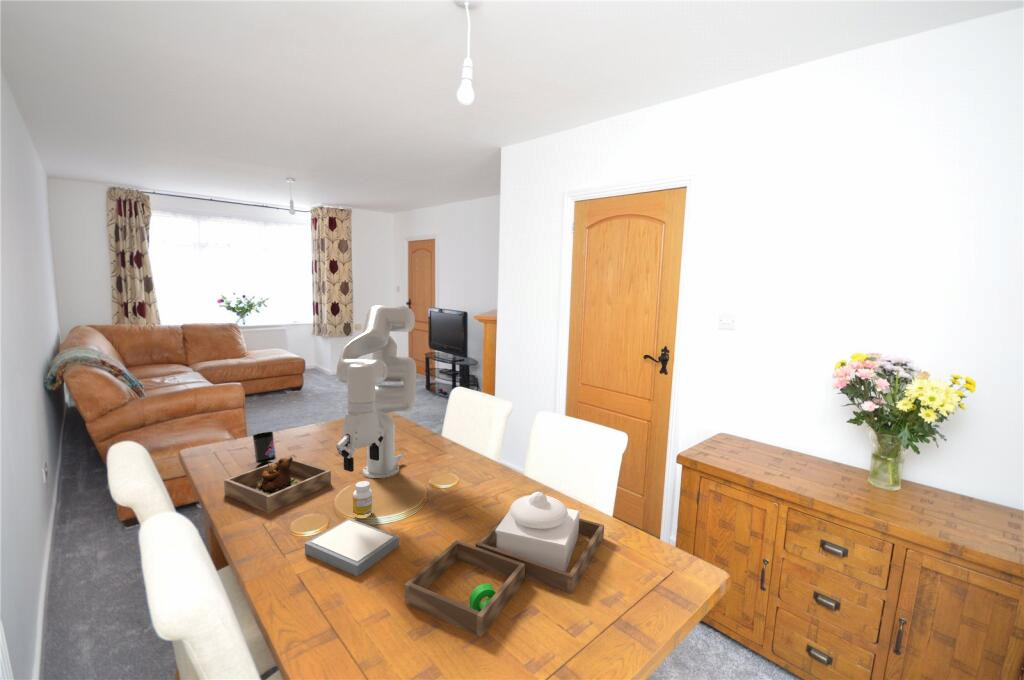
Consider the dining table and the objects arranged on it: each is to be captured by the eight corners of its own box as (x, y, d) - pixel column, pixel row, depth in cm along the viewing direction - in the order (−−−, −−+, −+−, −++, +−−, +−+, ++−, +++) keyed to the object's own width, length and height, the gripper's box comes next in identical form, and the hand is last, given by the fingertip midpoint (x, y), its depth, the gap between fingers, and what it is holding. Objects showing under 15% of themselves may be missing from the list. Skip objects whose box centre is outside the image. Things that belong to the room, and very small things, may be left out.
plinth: (349, 528, 124) (348, 517, 124) (398, 547, 116) (398, 536, 115) (304, 554, 112) (304, 542, 111) (357, 577, 103) (357, 565, 103)
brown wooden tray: (288, 470, 160) (287, 457, 159) (330, 484, 150) (330, 470, 149) (224, 495, 141) (224, 479, 140) (269, 513, 131) (268, 497, 130)
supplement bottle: (355, 511, 133) (355, 480, 132) (374, 510, 134) (374, 479, 133) (350, 520, 128) (350, 488, 127) (370, 520, 129) (369, 488, 127)
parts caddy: (456, 558, 112) (456, 540, 111) (524, 584, 103) (525, 564, 102) (404, 605, 95) (404, 583, 94) (481, 640, 86) (481, 617, 86)
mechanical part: (479, 643, 89) (480, 606, 88) (469, 622, 94) (470, 587, 93) (532, 625, 94) (534, 590, 93) (520, 606, 99) (521, 573, 98)
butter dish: (578, 540, 122) (581, 484, 120) (564, 580, 105) (567, 516, 103) (517, 527, 128) (518, 474, 126) (494, 563, 111) (496, 502, 109)
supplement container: (263, 461, 160) (259, 432, 162) (251, 465, 163) (248, 436, 165) (280, 458, 166) (276, 430, 168) (269, 462, 169) (265, 434, 171)
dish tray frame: (520, 518, 132) (521, 502, 132) (603, 542, 121) (604, 525, 120) (475, 563, 110) (475, 544, 110) (571, 598, 99) (572, 577, 98)
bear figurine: (291, 478, 155) (290, 444, 153) (306, 493, 144) (305, 457, 142) (246, 489, 145) (245, 453, 144) (259, 506, 135) (257, 468, 133)
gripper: (374, 399, 136) (374, 453, 138) (327, 411, 121) (328, 472, 123) (393, 402, 133) (392, 458, 134) (347, 415, 118) (347, 478, 119)
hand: (361, 465), depth 129 cm, fingers open, 9 cm apart
